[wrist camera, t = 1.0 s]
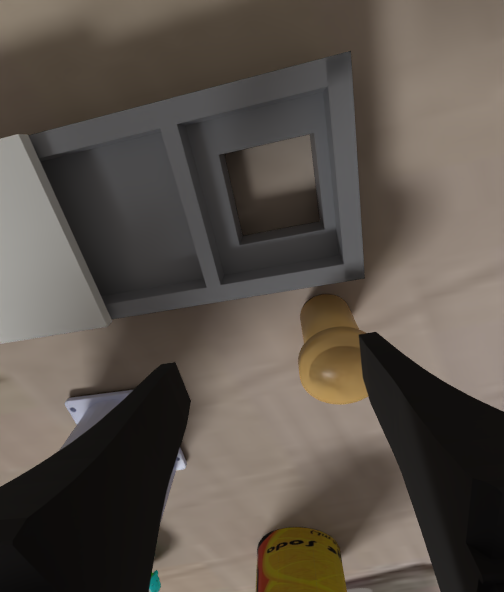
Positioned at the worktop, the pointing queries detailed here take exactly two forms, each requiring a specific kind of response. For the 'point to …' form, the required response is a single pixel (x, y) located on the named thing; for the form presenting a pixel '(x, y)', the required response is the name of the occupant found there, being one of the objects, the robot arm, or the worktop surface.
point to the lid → (39, 255)
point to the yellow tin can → (299, 562)
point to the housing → (208, 191)
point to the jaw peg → (331, 351)
